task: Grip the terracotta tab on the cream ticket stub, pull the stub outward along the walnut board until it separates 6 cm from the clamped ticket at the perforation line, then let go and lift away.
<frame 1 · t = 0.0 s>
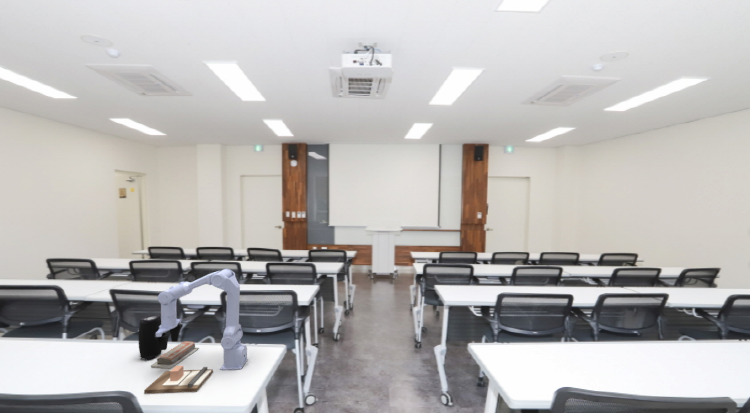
hand: (169, 345, 132), 10 cm above the table, tool pointing down, fingers open, 7 cm apart
stub: (176, 373, 121), point 4 cm above the table, slide at 0.0 cm
packaged product: (176, 359, 140), on the table
portable speaker: (151, 357, 141), on the table
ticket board: (180, 382, 121), on the table
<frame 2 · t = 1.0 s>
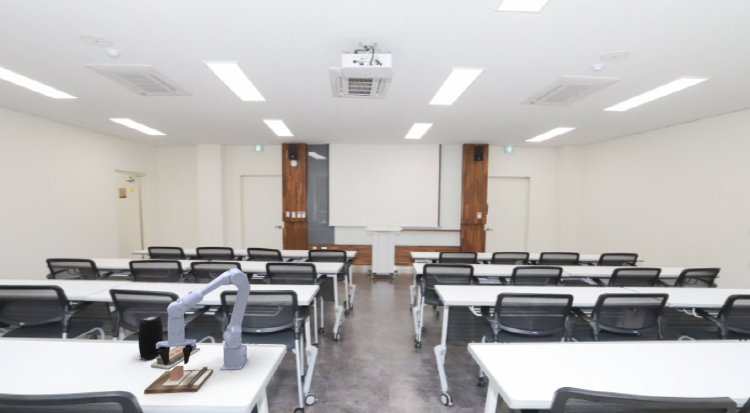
hand: (176, 363, 120), 8 cm above the table, tool pointing down, fingers open, 7 cm apart
nothing on the table moved.
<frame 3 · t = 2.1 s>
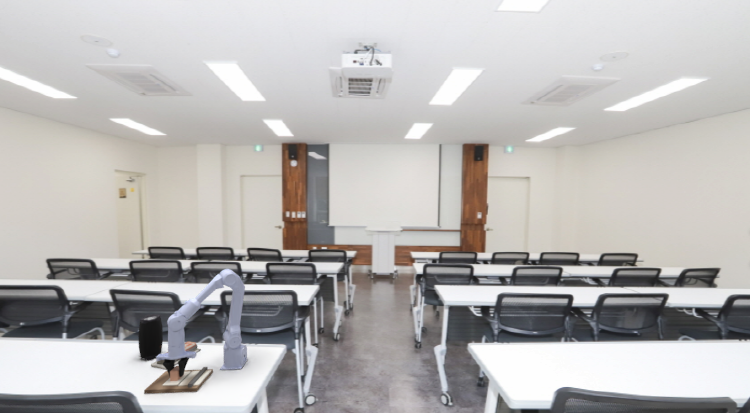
hand: (176, 375, 121), 3 cm above the table, tool pointing down, fingers closed on stub, 3 cm apart
stub: (176, 373, 121), point 4 cm above the table, slide at 0.0 cm, touching gripper
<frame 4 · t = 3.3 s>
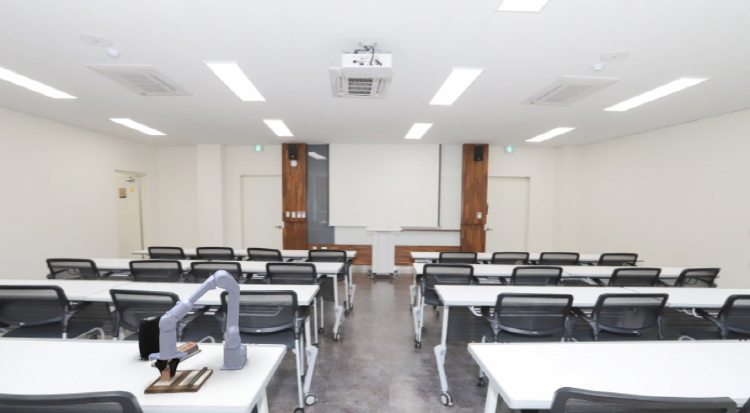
hand: (168, 376, 120), 3 cm above the table, tool pointing down, fingers closed on stub, 3 cm apart
stub: (168, 374, 120), point 4 cm above the table, slide at 3.3 cm, touching gripper
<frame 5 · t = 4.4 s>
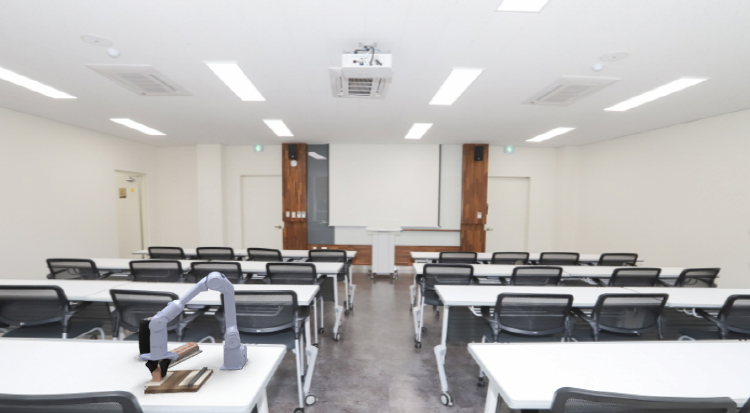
hand: (159, 376, 120), 3 cm above the table, tool pointing down, fingers closed on stub, 3 cm apart
stub: (159, 374, 120), point 4 cm above the table, slide at 7.0 cm, touching gripper
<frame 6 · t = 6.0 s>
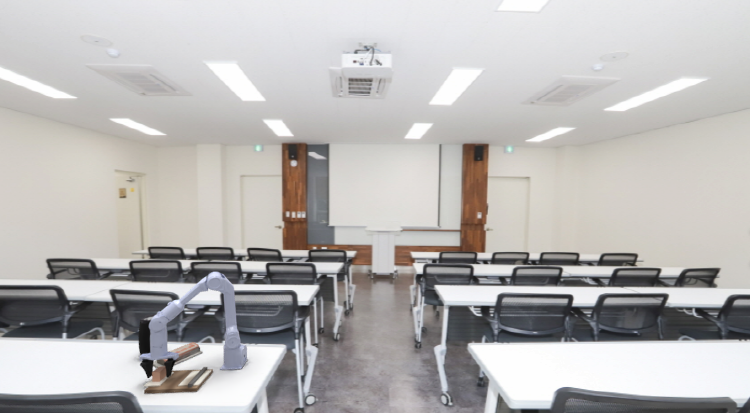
hand: (159, 376, 120), 3 cm above the table, tool pointing down, fingers open, 7 cm apart
stub: (159, 374, 120), point 4 cm above the table, slide at 7.0 cm
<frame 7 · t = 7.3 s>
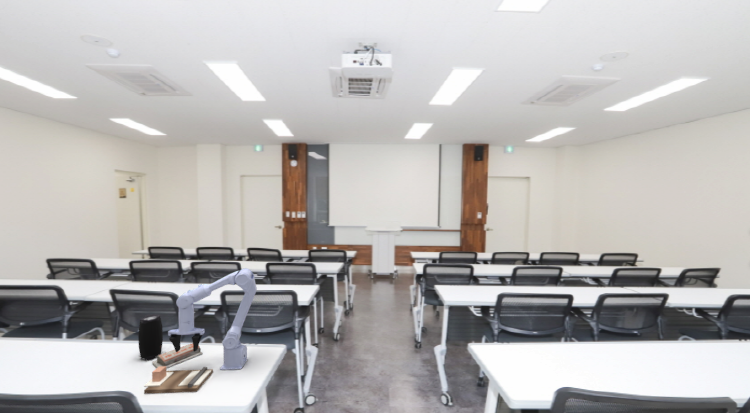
hand: (186, 350, 128), 9 cm above the table, tool pointing down, fingers open, 7 cm apart
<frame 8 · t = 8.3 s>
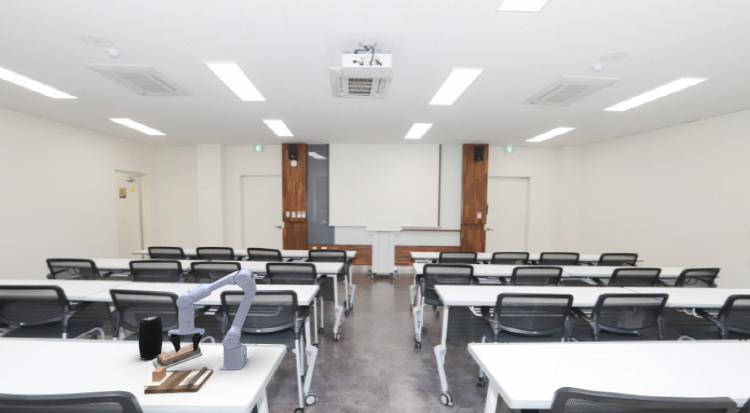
hand: (186, 350, 128), 9 cm above the table, tool pointing down, fingers open, 7 cm apart
at the end: stub slide at 7.0 cm; the gripper is holding nothing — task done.
